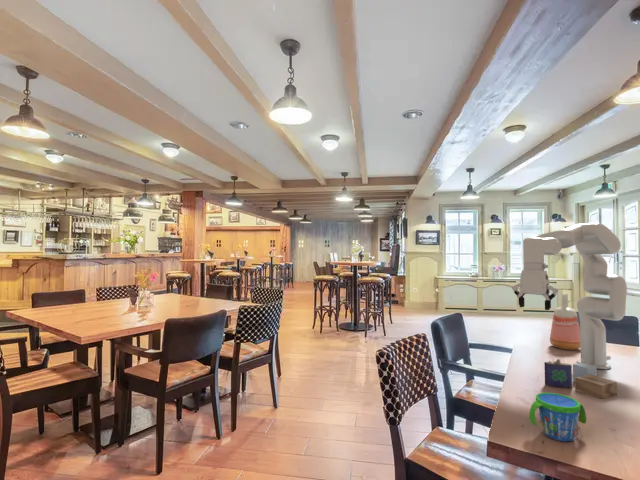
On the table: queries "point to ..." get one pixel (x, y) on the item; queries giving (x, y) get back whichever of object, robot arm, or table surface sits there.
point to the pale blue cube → (583, 370)
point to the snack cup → (558, 415)
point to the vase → (565, 327)
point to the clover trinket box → (558, 374)
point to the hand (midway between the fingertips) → (534, 308)
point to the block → (596, 386)
